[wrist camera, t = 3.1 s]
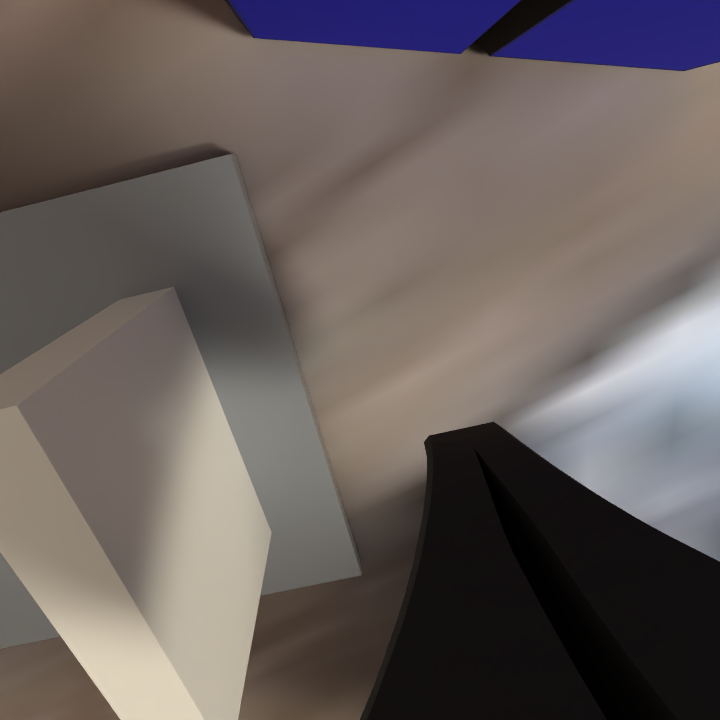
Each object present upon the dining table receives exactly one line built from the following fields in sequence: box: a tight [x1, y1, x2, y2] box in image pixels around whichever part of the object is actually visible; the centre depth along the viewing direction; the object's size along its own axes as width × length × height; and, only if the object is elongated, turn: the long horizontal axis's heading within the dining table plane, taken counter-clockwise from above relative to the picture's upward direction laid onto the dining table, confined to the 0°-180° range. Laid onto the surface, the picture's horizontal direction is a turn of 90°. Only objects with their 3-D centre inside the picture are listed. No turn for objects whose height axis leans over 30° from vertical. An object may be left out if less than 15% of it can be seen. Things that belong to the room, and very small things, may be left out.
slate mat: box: [0, 154, 362, 649], centre depth 13 cm, size 13×14×1 cm
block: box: [0, 287, 272, 720], centre depth 10 cm, size 8×2×6 cm, turn 13°
